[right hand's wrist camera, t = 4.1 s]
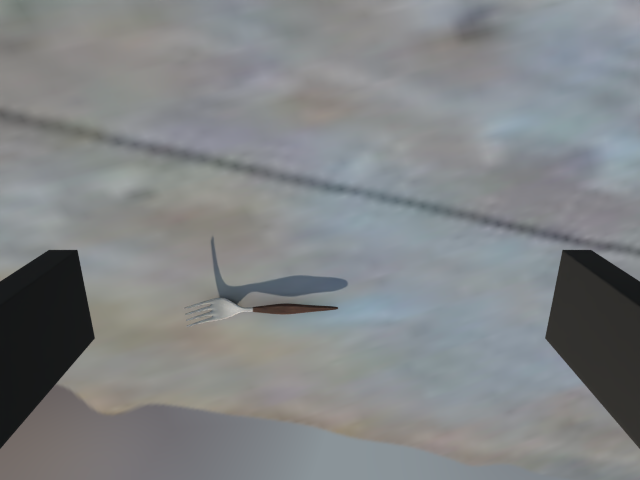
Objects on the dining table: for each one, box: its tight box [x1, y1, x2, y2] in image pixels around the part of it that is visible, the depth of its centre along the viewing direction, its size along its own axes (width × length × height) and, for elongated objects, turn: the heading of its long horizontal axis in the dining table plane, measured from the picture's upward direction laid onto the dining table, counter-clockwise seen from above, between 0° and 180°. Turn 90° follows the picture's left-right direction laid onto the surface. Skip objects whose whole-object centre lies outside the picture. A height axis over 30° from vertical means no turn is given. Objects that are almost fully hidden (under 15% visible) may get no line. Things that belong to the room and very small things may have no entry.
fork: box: [184, 298, 338, 327], centre depth 48 cm, size 3×16×2 cm, turn 91°
